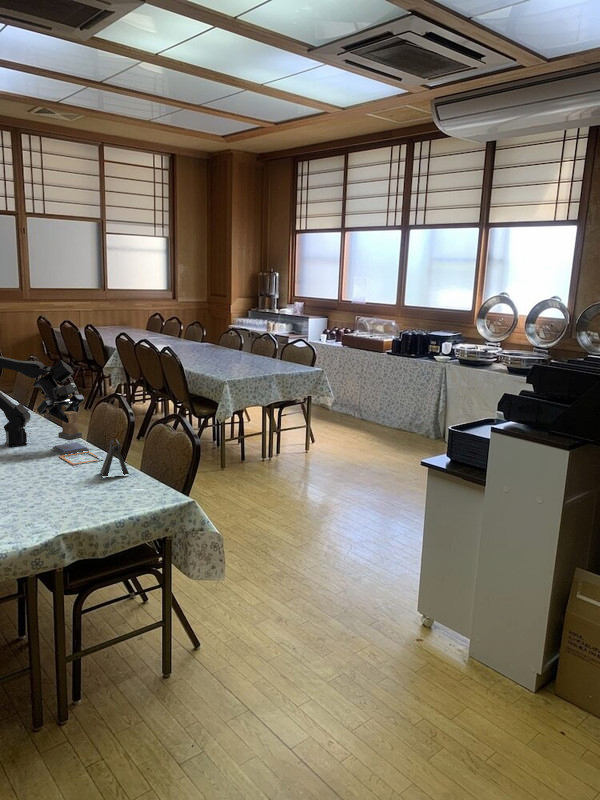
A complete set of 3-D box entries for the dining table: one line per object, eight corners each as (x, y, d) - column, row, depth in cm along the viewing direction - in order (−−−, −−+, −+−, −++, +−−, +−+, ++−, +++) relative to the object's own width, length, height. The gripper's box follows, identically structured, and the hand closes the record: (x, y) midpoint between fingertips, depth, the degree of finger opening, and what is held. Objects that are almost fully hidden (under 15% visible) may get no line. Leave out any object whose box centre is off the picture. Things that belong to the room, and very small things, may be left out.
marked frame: (73, 465, 216) (73, 464, 216) (58, 457, 225) (58, 455, 225) (104, 460, 224) (104, 459, 223) (89, 452, 233) (89, 451, 232)
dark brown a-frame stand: (101, 478, 204) (101, 443, 202) (100, 473, 209) (100, 439, 207) (129, 476, 207) (129, 442, 205) (127, 471, 213) (127, 438, 211)
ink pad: (63, 455, 227) (63, 451, 227) (52, 449, 234) (52, 445, 234) (88, 451, 234) (88, 447, 234) (77, 445, 241) (77, 441, 241)
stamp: (69, 440, 229) (68, 414, 228) (58, 437, 232) (58, 412, 231) (81, 437, 235) (81, 412, 233) (71, 435, 237) (71, 410, 236)
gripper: (41, 379, 223) (63, 413, 220) (80, 374, 239) (101, 405, 236) (27, 397, 227) (48, 430, 225) (66, 391, 244) (87, 422, 241)
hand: (72, 421), depth 232 cm, fingers closed on stamp, 4 cm apart
